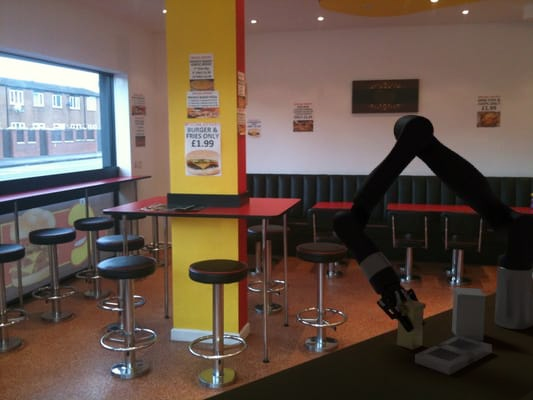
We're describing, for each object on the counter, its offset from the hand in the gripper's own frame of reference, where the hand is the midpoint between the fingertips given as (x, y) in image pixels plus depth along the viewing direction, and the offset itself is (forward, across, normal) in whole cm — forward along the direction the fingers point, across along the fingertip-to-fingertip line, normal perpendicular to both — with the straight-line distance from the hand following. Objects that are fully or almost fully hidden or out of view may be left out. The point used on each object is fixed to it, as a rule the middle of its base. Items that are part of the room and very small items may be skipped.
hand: (416, 328), depth 139 cm
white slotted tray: (+11, +1, -3) cm, 12 cm away
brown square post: (+2, 0, +5) cm, 5 cm away
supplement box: (+6, +20, +2) cm, 21 cm away
